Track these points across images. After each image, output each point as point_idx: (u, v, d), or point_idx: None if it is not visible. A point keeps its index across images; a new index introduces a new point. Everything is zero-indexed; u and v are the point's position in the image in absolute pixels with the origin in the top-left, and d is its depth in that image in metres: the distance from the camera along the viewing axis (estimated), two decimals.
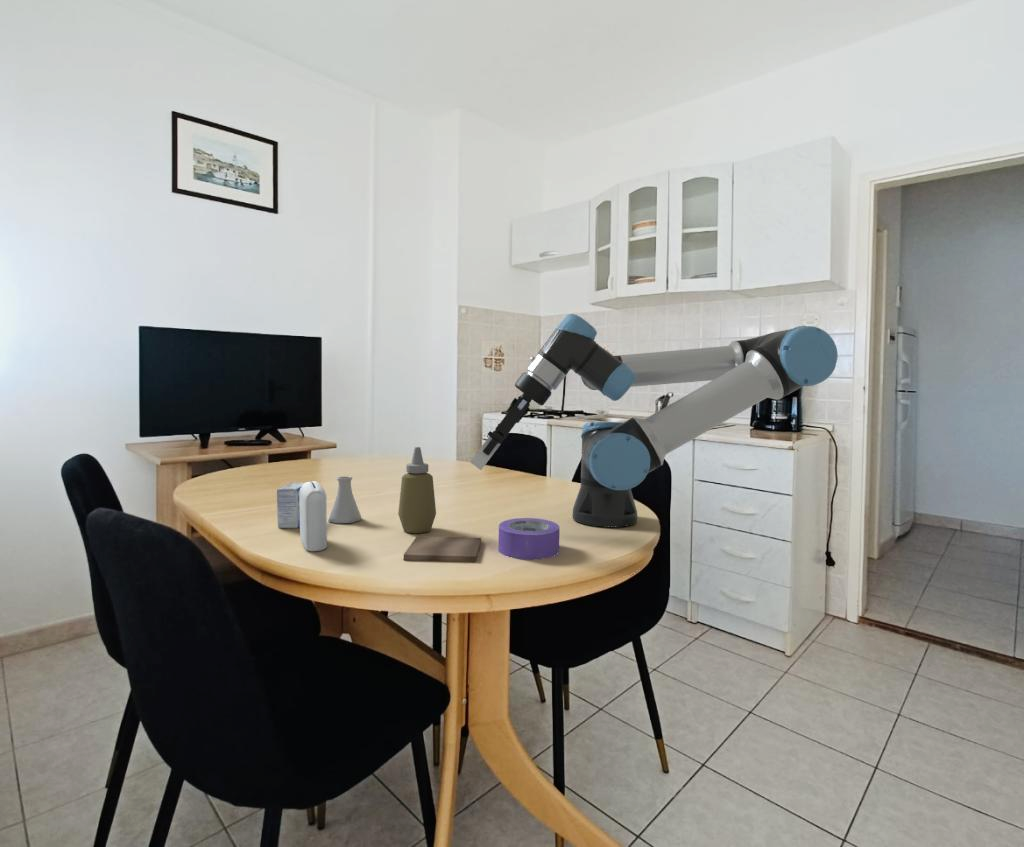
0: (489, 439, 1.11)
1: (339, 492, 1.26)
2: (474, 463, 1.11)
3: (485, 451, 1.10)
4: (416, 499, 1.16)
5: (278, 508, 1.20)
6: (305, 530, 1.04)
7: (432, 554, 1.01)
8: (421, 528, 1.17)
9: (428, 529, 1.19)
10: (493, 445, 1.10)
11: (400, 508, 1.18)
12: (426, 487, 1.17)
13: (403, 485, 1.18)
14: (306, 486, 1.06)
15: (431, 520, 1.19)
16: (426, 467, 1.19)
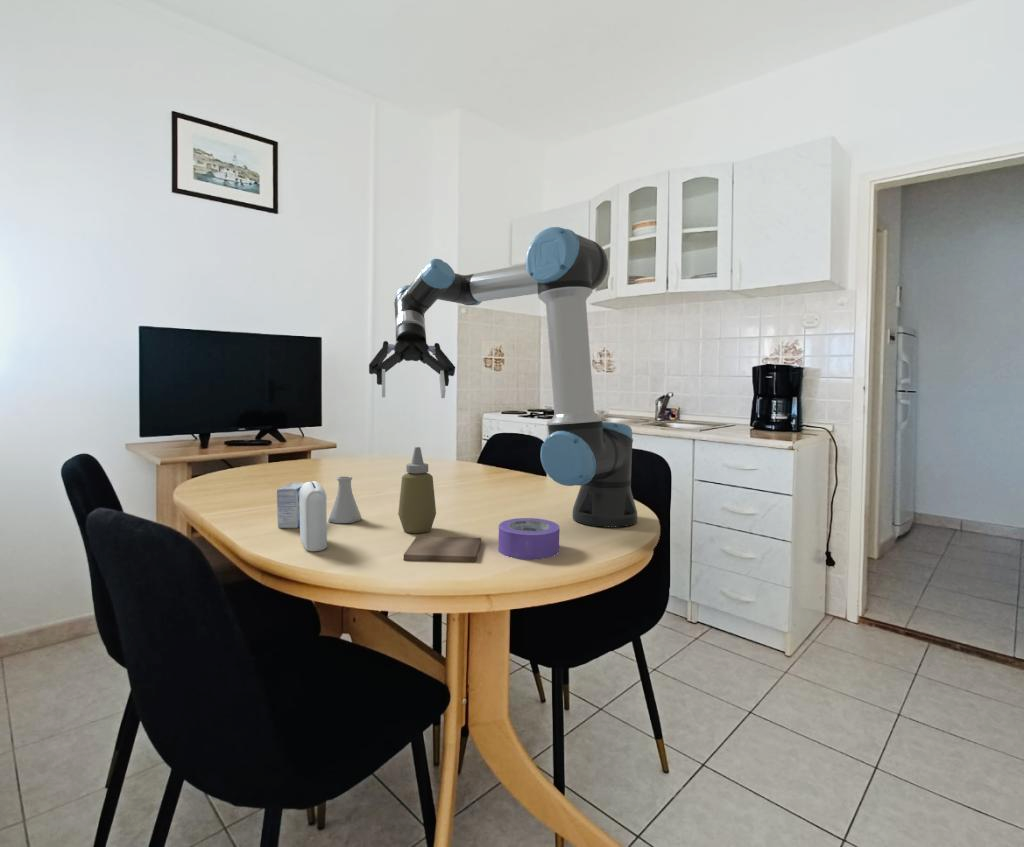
0: None
1: (339, 492, 1.26)
2: None
3: (377, 382, 1.29)
4: (416, 499, 1.16)
5: (278, 508, 1.20)
6: (305, 530, 1.04)
7: (432, 554, 1.01)
8: (421, 528, 1.17)
9: (428, 529, 1.19)
10: None
11: (400, 508, 1.18)
12: (426, 487, 1.17)
13: (403, 485, 1.18)
14: (306, 486, 1.06)
15: (431, 520, 1.19)
16: (426, 467, 1.19)
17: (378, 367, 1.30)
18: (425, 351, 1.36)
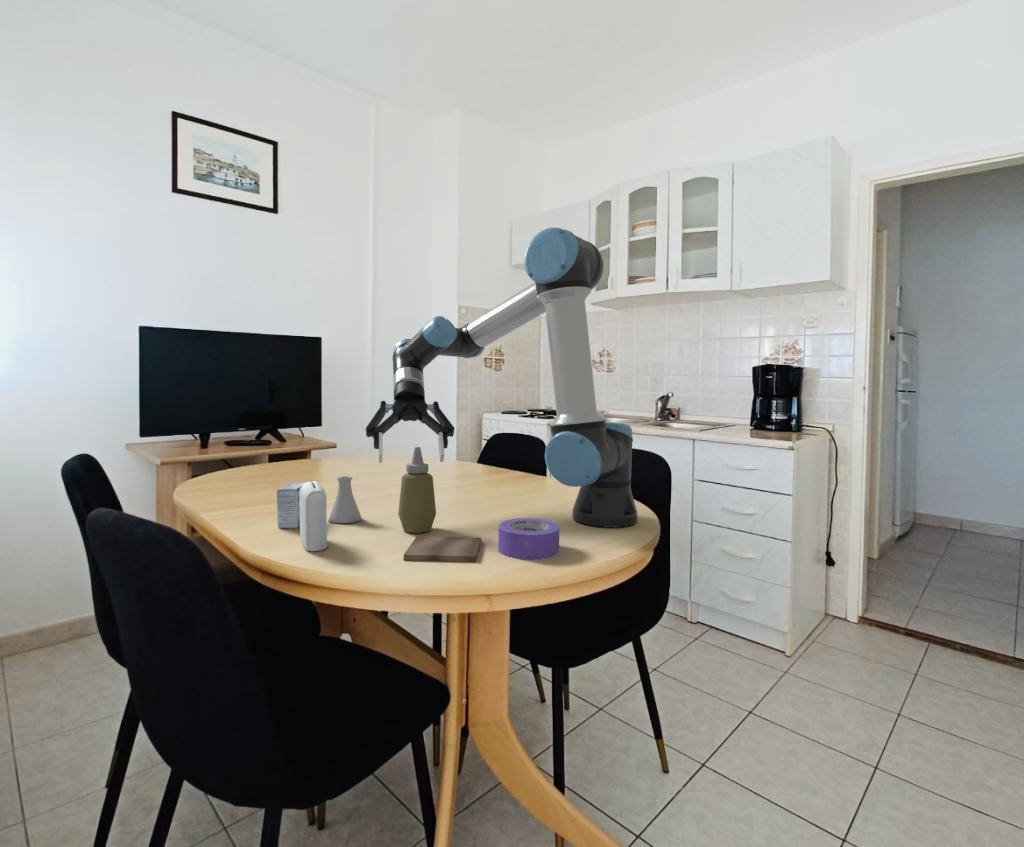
0: None
1: (339, 492, 1.26)
2: None
3: (374, 446, 1.26)
4: (416, 499, 1.16)
5: (278, 508, 1.20)
6: (305, 530, 1.04)
7: (432, 554, 1.01)
8: (421, 528, 1.17)
9: (428, 529, 1.19)
10: None
11: (400, 508, 1.18)
12: (426, 487, 1.17)
13: (403, 485, 1.18)
14: (306, 486, 1.06)
15: (431, 520, 1.19)
16: (426, 467, 1.19)
17: (375, 430, 1.27)
18: (423, 411, 1.33)
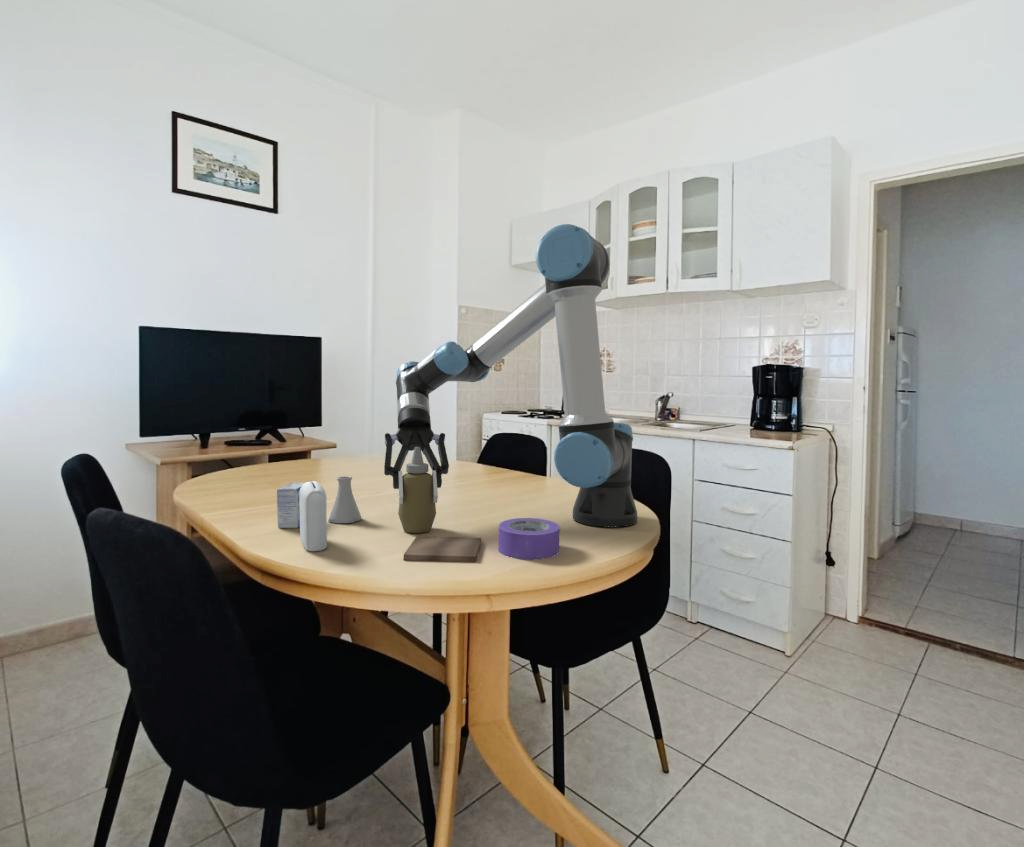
0: None
1: (339, 492, 1.26)
2: (399, 500, 1.16)
3: (393, 486, 1.18)
4: (416, 499, 1.16)
5: (278, 508, 1.20)
6: (305, 530, 1.04)
7: (432, 554, 1.01)
8: (421, 528, 1.17)
9: (428, 529, 1.19)
10: None
11: (400, 508, 1.18)
12: (426, 487, 1.17)
13: (403, 485, 1.18)
14: (306, 486, 1.06)
15: (431, 520, 1.19)
16: (426, 467, 1.19)
17: (395, 469, 1.19)
18: (426, 442, 1.24)
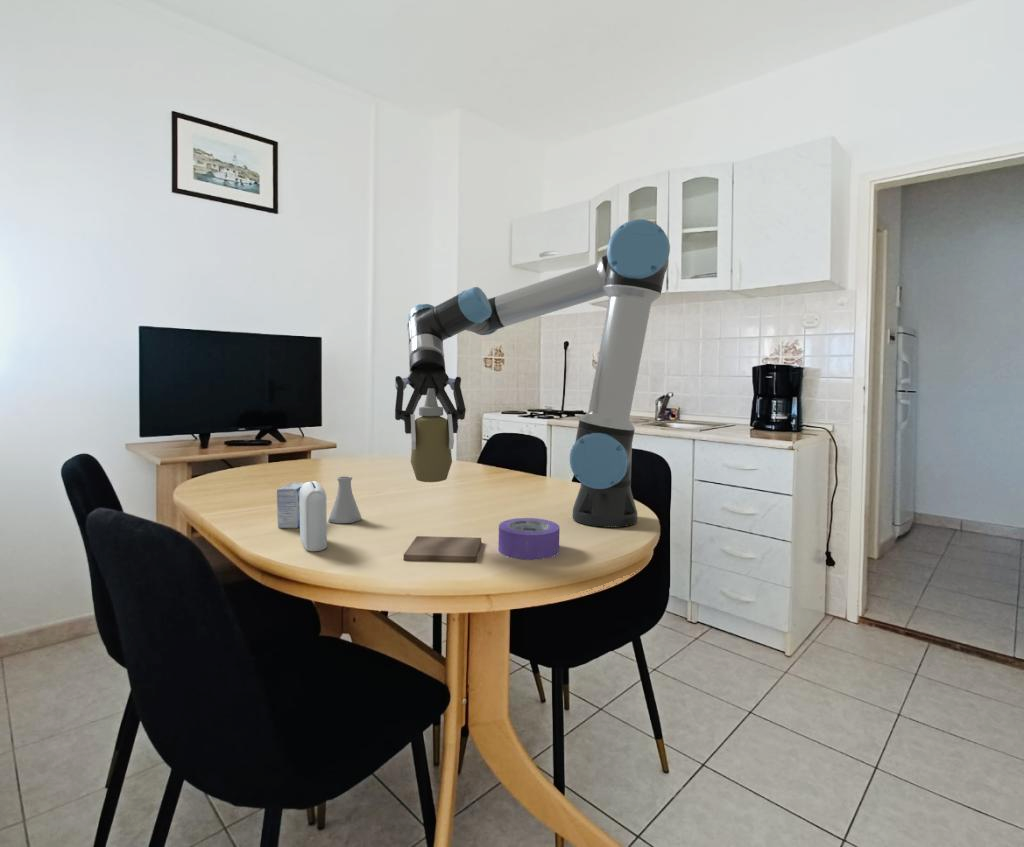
0: None
1: (339, 492, 1.26)
2: (411, 445, 1.05)
3: (405, 430, 1.07)
4: (430, 444, 1.06)
5: (278, 508, 1.20)
6: (305, 530, 1.04)
7: (432, 554, 1.01)
8: (435, 476, 1.07)
9: (443, 478, 1.08)
10: None
11: (413, 455, 1.07)
12: (440, 431, 1.07)
13: (416, 429, 1.07)
14: (306, 486, 1.06)
15: (447, 468, 1.08)
16: (441, 410, 1.08)
17: (406, 412, 1.08)
18: (440, 385, 1.14)
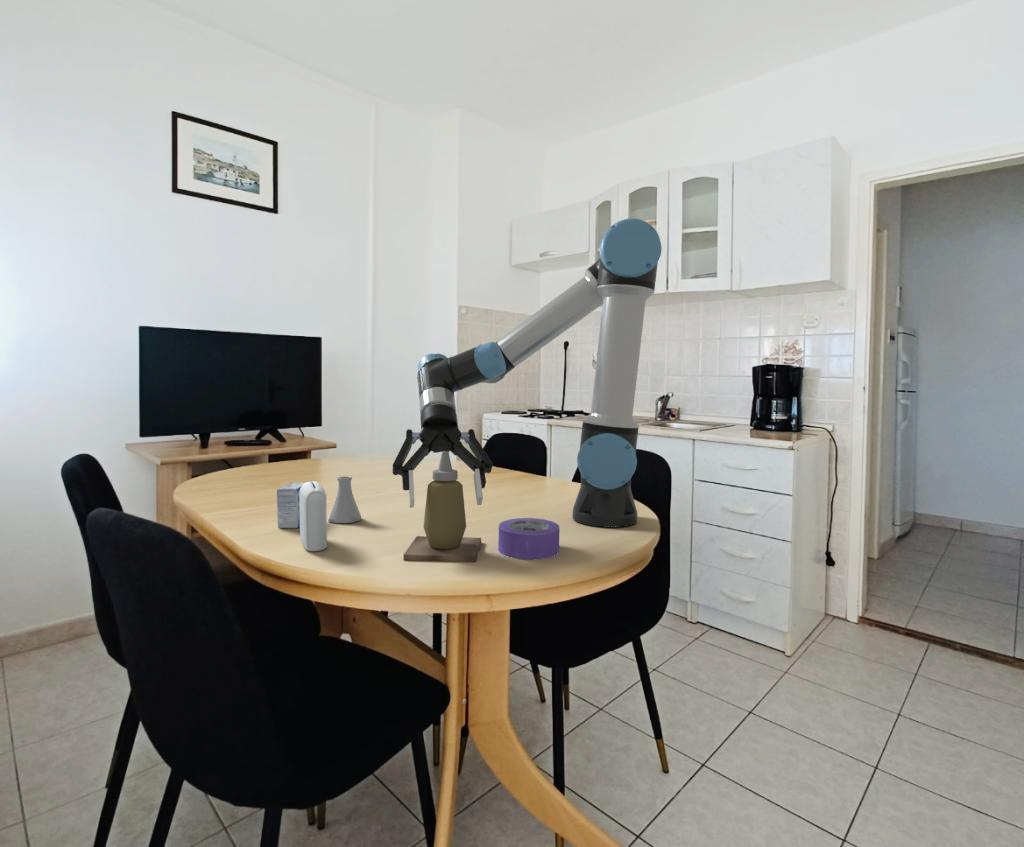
0: None
1: (339, 492, 1.26)
2: (409, 503, 1.02)
3: (403, 487, 1.04)
4: (445, 511, 1.02)
5: (278, 508, 1.20)
6: (305, 530, 1.04)
7: (432, 554, 1.01)
8: (449, 543, 1.03)
9: (457, 544, 1.05)
10: None
11: (426, 521, 1.04)
12: (455, 497, 1.03)
13: (429, 494, 1.03)
14: (306, 486, 1.06)
15: (461, 534, 1.05)
16: (455, 474, 1.04)
17: (404, 468, 1.05)
18: (457, 441, 1.11)
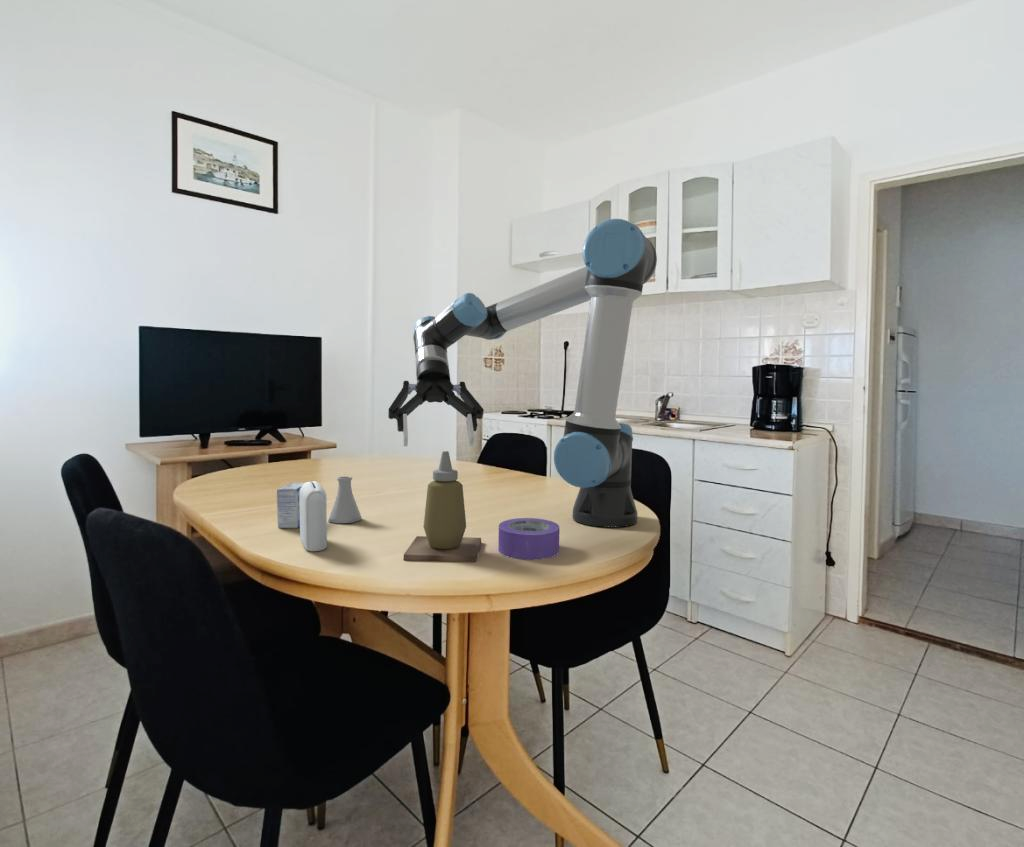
0: None
1: (339, 492, 1.26)
2: None
3: None
4: (445, 511, 1.02)
5: (278, 508, 1.20)
6: (305, 530, 1.04)
7: (432, 554, 1.01)
8: (449, 543, 1.03)
9: (457, 544, 1.05)
10: None
11: (426, 521, 1.04)
12: (455, 497, 1.03)
13: (429, 494, 1.03)
14: (306, 486, 1.06)
15: (461, 534, 1.05)
16: (455, 474, 1.04)
17: (399, 412, 1.17)
18: (450, 392, 1.23)
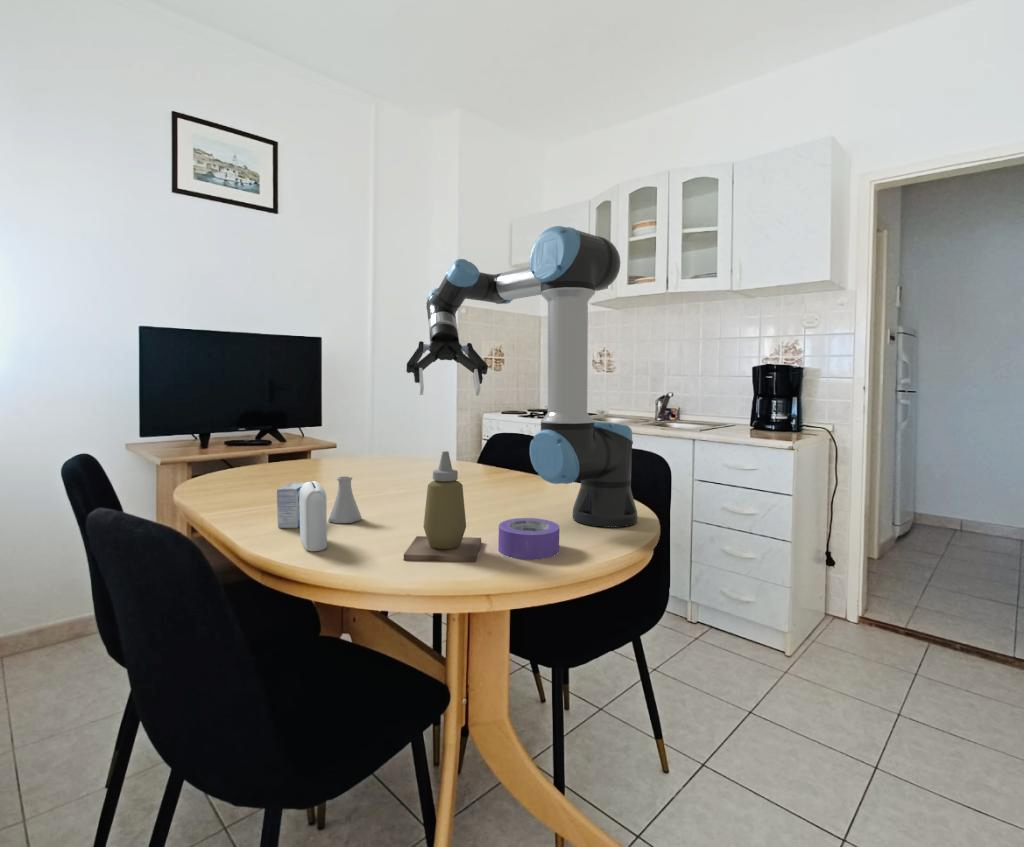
0: None
1: (339, 492, 1.26)
2: None
3: (414, 380, 1.35)
4: (445, 511, 1.02)
5: (278, 508, 1.20)
6: (305, 530, 1.04)
7: (432, 554, 1.01)
8: (449, 543, 1.03)
9: (457, 544, 1.05)
10: None
11: (426, 521, 1.04)
12: (455, 497, 1.03)
13: (429, 495, 1.03)
14: (306, 486, 1.06)
15: (461, 534, 1.05)
16: (455, 474, 1.04)
17: (415, 366, 1.37)
18: (459, 351, 1.42)
